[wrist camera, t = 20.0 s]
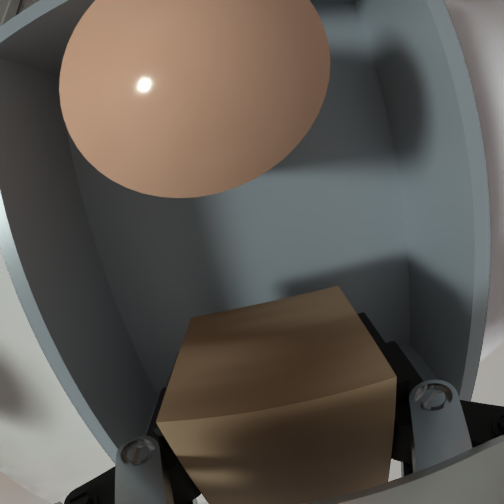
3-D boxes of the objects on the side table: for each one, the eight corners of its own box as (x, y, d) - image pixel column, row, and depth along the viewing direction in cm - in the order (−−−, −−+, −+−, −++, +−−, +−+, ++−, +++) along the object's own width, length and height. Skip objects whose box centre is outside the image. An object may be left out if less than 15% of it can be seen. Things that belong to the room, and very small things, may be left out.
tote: (51, 73, 11) (-27, 48, 6) (359, -5, 10) (408, -69, 5) (153, 399, 16) (126, 478, 10) (416, 344, 15) (468, 410, 10)
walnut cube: (229, 420, 12) (223, 522, 7) (191, 317, 11) (155, 422, 6) (350, 395, 12) (386, 492, 7) (338, 285, 10) (396, 376, 6)
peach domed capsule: (144, 73, 11) (51, 6, 4) (268, 41, 11) (288, -65, 4) (171, 190, 12) (88, 228, 6) (298, 160, 12) (358, 163, 5)
